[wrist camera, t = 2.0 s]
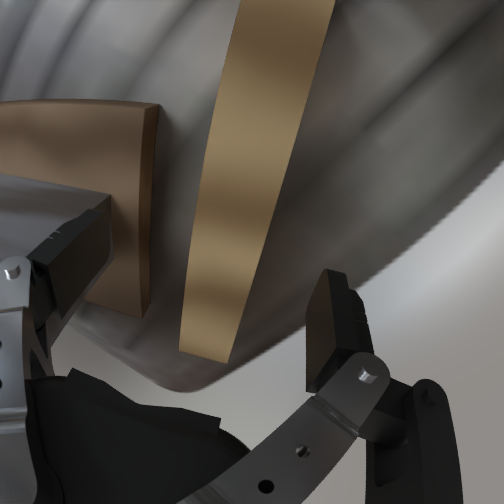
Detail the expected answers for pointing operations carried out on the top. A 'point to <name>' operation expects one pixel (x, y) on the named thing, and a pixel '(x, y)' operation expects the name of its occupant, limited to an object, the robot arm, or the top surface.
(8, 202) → the ridge stand
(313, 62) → the oak bar
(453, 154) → the top surface
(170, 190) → the top surface
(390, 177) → the top surface
